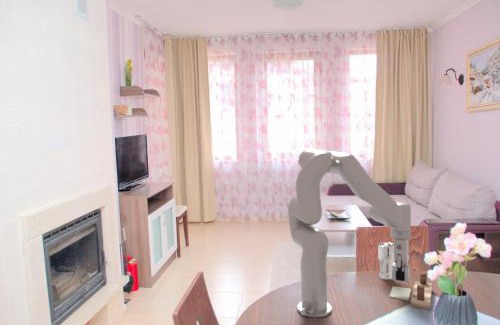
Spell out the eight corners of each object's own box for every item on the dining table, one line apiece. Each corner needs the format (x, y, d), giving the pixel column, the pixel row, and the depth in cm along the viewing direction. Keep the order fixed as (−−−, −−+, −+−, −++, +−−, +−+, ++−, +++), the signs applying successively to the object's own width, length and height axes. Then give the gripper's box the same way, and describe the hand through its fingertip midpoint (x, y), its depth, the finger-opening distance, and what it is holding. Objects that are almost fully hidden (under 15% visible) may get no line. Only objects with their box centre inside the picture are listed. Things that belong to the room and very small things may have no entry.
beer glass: (378, 279, 170) (378, 246, 169) (377, 273, 177) (377, 241, 175) (395, 281, 168) (395, 247, 167) (394, 274, 175) (394, 242, 173)
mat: (408, 300, 150) (408, 299, 150) (389, 297, 153) (389, 296, 153) (410, 290, 159) (410, 288, 158) (392, 287, 162) (392, 286, 162)
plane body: (429, 310, 142) (430, 289, 141) (411, 306, 145) (411, 286, 144) (432, 290, 158) (432, 271, 157) (414, 287, 161) (415, 269, 160)
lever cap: (408, 282, 152) (408, 265, 151) (392, 280, 155) (392, 263, 154) (409, 278, 156) (409, 261, 155) (393, 276, 158) (393, 260, 158)
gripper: (408, 240, 144) (409, 287, 146) (412, 228, 159) (412, 271, 161) (387, 238, 147) (388, 284, 149) (393, 227, 162) (393, 269, 164)
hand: (400, 277), depth 155 cm, fingers closed on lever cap, 4 cm apart
